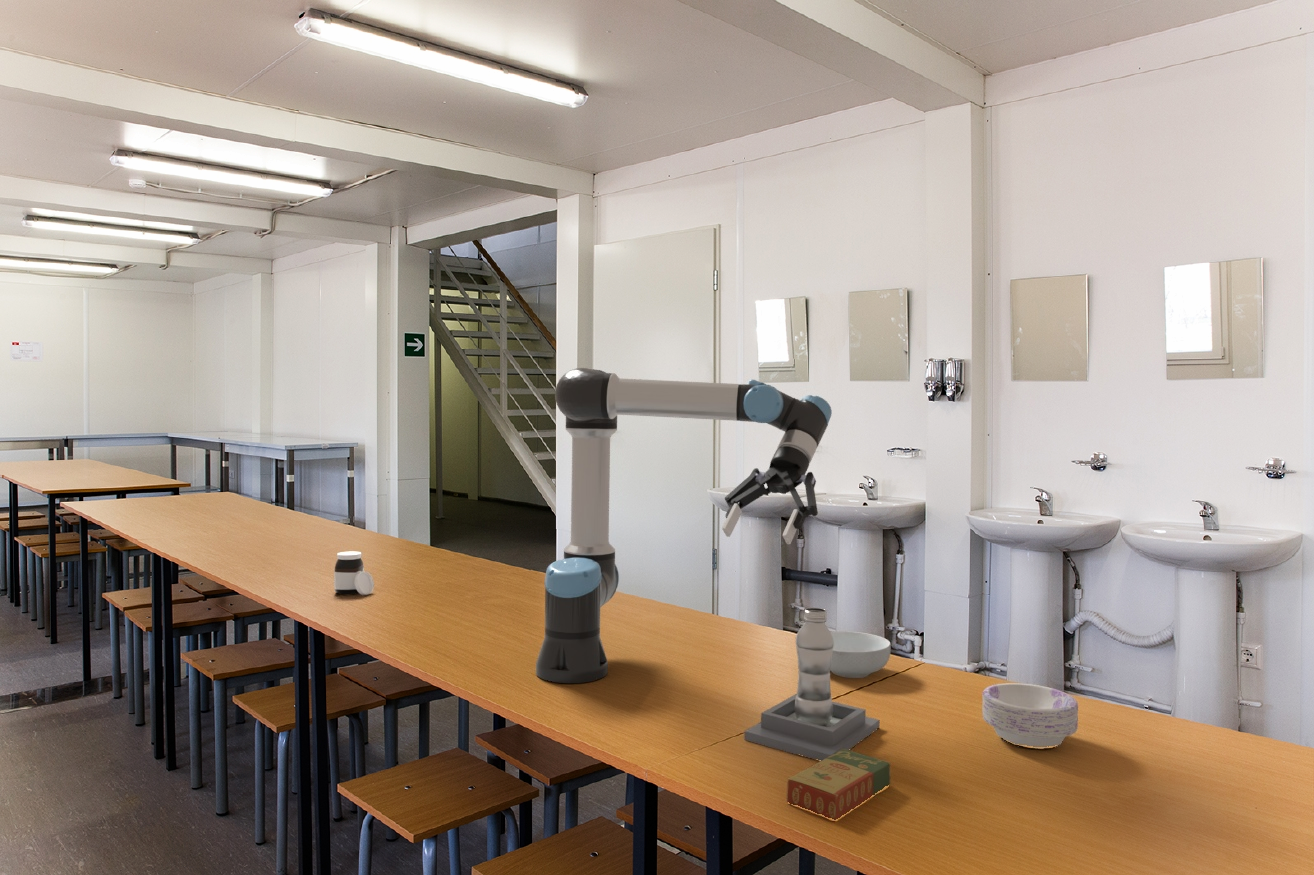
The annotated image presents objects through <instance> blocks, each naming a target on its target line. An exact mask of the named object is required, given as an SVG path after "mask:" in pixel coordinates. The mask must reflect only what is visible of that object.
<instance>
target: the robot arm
mask: <svg viewBox="0 0 1314 875" xmlns="http://www.w3.org/2000/svg"><path fill="white" fill-rule="evenodd" d="M554 397H555V403H556V405H557V408H558V409H559V411H560V412H561V413H562V414H563V415H564V416H565V430H566V432H568V433H569V435H570V436H571V438H572V439H571V440H572V441H571V444H572V445H571V492H570V493H571V500H570V501H571V502H570V503H571V505H570V506H571V507H570V511H571V512H570V542H569V544H567V546H566V547H565V548H563V559H557V560H556V561H554V562H552V563H550V564H549V565H548V566H547V567H546V571H545V577H544V587H545V589H544V594H545V595H544V596H545V597H544V598H545V600H544V601H545V604H544V638H543V640H542V643H541V647H540V650H539V653H538V655H537V658H536V662H535V675H536V676H537V677H538V678H540V679H542V680H545V681H547V680H548V681H547V682H551V681H552V683H560V684H581V683H590V682H594V681H598V680H601V679H602V678H605V676H607V674H608V673H609V672H608V670H609V669H608V667H609V664H608V658H607V655H606V653H605V652H606V651H605V648H604V644H603V642H602V639H601V608H602V607H603V606H604V605H606V604H607V603H608V602H609V601H610V600H612V598H613V597H614V596H615V594H616V591H617V589H618V586H619V582H620V574H619V570H618V567H617V565H616V548H614V547H613V545H612V544H611V543H610V541H609V537H610V535H609V533H610V477H611V474H610V473H611V467H610V465H611V464H610V463H611V437H612V436H613V435H614V433H616V432H617V430H618V416H634V417H635V416H636V417H637V416H638V417H639V416H640V417H654V418H655V417H661V418H677V419H680V418H681V419H694V420H695V419H696V420H697V419H698V420H699V419H700V420H716V421H718V420H719V421H735V422H737V421H739V422H753V423H754V422H755V423H758V424H767V425H769V426H772V427H775V428H777V429H778V430H780V431H783V432H784V434H783V436H782V438H781V440H780V442H779V444H778V446H777V448H776V450H775V452H774V454H773V456H772V458H771V460H770V463H769V468H768V469H767V470H766V471H760V470H759V468H757V467H756V468H754V469H753V470H752V471H751V473H750V475H749V476H747V478H745V479H744V480H743V481H742V482H740V483H739V484H738V485H737V486H736V487H735V488H734V489H733V490H732V491H730V492H729V493H728V494H727V495H726V496H725V497H724V501H725V503H726V504H727V506H728V509H727V511H726V513H725V521H724V523H723V525H722V527H721V529H722V531H723V533H724V534H725V536H726V537H727V538H730V537H731V535H732V534H733V532H734V529H735V527H736V526H737V523H738V521H739V520H740V518H741V515H742V514H743V511H742V509H743V508H744V507H746V506H748V505H750V504H751V503H753V502H754V501H756V500H758V499H759V498H761V497H762V496H768V495H769V494H771V493H772V494H778V493H779V494H782V495H786V494H788V493H790V495H791V496H792V499H793V500H794V502H795V504H796V506H797V508H795V509H793V510H792V513H791V515H790V517H789V520H788V521H787V524H786V526H785V528H784V530H783V532H782V538H783V540H784V541H785V543H786V545H791V543H792V542H793V540H794V537H795V535H796V532H797V530H801V529H802V527H803V525H804V523H805V520H806V519H807V518H808V517H809V516H813V517H816V516H818V514H819V513H818V506H817V499H816V498H817V497H816V493H815V491H816V490H815V487H816V483H817V481H816V478H815V476H814V474H813V472H812V471H808V469H809V466H810V464H811V462H812V460H813V457H814V456H815V453H816V451H817V449H818V447H819V445H820V443H821V440H822V438H823V436H824V434H825V432H826V431H827V428H828V427H829V426H828V425H829V422H830V420H831V417H832V407H831V405H830V404H829V403H828V401H827V400H826V399H824V398H822V397H821V396H819V395H818V396H817V395H814V396H813V395H811V394H810V395H805V396H803V397H802V398H801V400H800V399H798V398H795V397H793V396H790V395H788V394H786V393H784V392H782V391H780V390H779V389H778V388H776V387H774V386H772V385H770V384H767V383H765V382H761V381H758V380H757V379H750V380H748V382H747V383H746V384H743V383H741V384H739V383H723V382H705V381H704V382H703V381H685V380H684V381H683V380H680V381H679V380H661V379H660V380H658V379H640V378H639V379H637V378H620V377H619V376H618V375H617V373H614V372H605V371H603V370H600V369H591V368H588V367H577V368H574V369H573V368H572V369H570V370H569V371H567V372H566V373H564V374H563V375H562V376H561V377H560V378H559V380H558V382H557V384H556V387H555V389H554ZM807 471H808V472H807ZM802 483H803V484H804V486H805V493H806V495H805V496H806V501H807V505H805V504H804V501H803V500H802V498H801V497H800V495H799V493H798V491H797V489H796V488H797V487H798V486H800V485H802ZM765 485H766V487H765Z"/></svg>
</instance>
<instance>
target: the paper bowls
mask: <svg viewBox="0 0 1314 875" xmlns="http://www.w3.org/2000/svg"><path fill="white" fill-rule="evenodd" d="M1078 714H1079V704H1078V701H1077V699H1075V697H1074V696H1072V695H1071V694H1069V693H1066V692H1064V691H1061V690H1059V689H1056V688H1053V687H1048V686H1043V685H1038V684H1031V683H1019V682H1010V683H1009V682H1007V683H1006V682H1005V683H1004V682H1003V683H997V684H996V683H995V684H993V685H989V686H986V687H985V688H984V690H983V691H982V719H983V720H984V721H985V723H987V725H990V726H991V727H993V728H994V731H995V733H996V735H997V736H998V737H999V736H1000V737H1002V738H1003V739H1005V740H1008V741H1010V742H1012V743H1015V744H1019V745H1027V746H1033V747H1047V746H1048V747H1049V746H1055V745H1059V744H1060V745H1061V744H1063V742H1064V739H1065V738H1066V737H1069V736H1072V735H1074V734H1076V733H1077V731H1078V727H1079V726H1078V725H1079V724H1078V721H1079V718H1078V717H1079V716H1078ZM1000 737H999V738H1000ZM1062 741H1063V742H1062ZM1060 745H1059V746H1060Z"/></svg>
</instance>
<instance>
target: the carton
mask: <svg viewBox="0 0 1314 875" xmlns="http://www.w3.org/2000/svg"><path fill="white" fill-rule="evenodd" d="M786 784H787V785H786V786H787V789H786V803H787V802H789V803H790V804H793V805H798V806H800V807H802V808H805V809H808V810H811V811H813V812H815V813H817V814H822V815H824V816H825V817H828V818H832V819H834V820H836V819H838V818H840V817H841V816H842V815H844V814H846V813H847V812H849V811H850V810H851V809H854V808H855V807H856V806H858V805H860V804H861V803H862V802H864V801H865V800H867V799H868V798H870V797H871V796H872V795H875V793H877V792H878V791H880V790H882V789H883V788H884V787H885V786H888V785H889V784H890V785H891V765H890V762H889V761H886V760H882V759H879V758H877V757H873V756H870V755H865V754H862V753H859V752H855V751H852V750H846V749H842V750H840V751H838V752H836V753H835V754H833V755H831V756H829V757H827V758H826V759H824V760H822V761H817V763H814V764H813V765H811V766H809V767H808V768H805V769H804V770H802V771H799V772H798V773H796V774H794V775H792V776H790V777H788V778H787V783H786Z"/></svg>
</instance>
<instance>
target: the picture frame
mask: <svg viewBox="0 0 1314 875" xmlns="http://www.w3.org/2000/svg"><path fill="white" fill-rule="evenodd" d="M796 695H797V693H795V694H793V695H792V696H790V697H788V698H786V699H784V700H782V701H781V702H779V703H777V704H776V705H773V706H772V707H770V708H768V709H766V710H765V711H763V712H761V713H760V717H761V718H760V722H758V723H756V724H755V725H753V726H752V727H750V728H748V729H746V730H745V731H744V741H747V742H751V743H754V744H758V745H760V746H761V745H762V746H764V745H765V746H764V747H768V748H772V749H776V750H778V749H780V750H779V751H782V750H784V751H783V752H785V751H786V752H785V753H789V752H790V754H792V753H793V755H796V754H800V755H803V756H806V757H808V758H807V759H810V758H813V759H818V760H821V761H822V760H824V759H826V758H827V757H829V756H831V755H833V754H835V753H836V752H838V751H840V750H842V749H846V750H849V749H851V748H852V747H853V746H854V745H856V744H857V743H858V742H860V741H861V740H863V739H864V738H865V737H867V736H868V737H870V736H871V735H872V734H873V733H872V732H873V731H875V730H876V729H877V728H879V729H880V722H881V721H880V719H877V718H873V717H868V716H866V713H867V709H865V708H860V707H857V706H853V705H849V704H843V703H841V702H836V701H832V703H833V715H832V719H831V721H830V722H829V723H828V724H826V725H816V724H812V723H808V722H804V721H801V720H798V719H797V717H796V714H795V708H794V706H795V699H796ZM876 731H877V730H876ZM876 731H875V732H876ZM871 733H872V734H871ZM870 734H871V735H870ZM869 735H870V736H869ZM868 737H867V738H868ZM864 740H865V739H864ZM864 740H863V741H864ZM860 743H861V742H860ZM856 746H857V745H856ZM852 749H853V748H852ZM852 749H851V750H852ZM803 756H802V757H803ZM806 757H805V758H806ZM813 759H812V760H813Z"/></svg>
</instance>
